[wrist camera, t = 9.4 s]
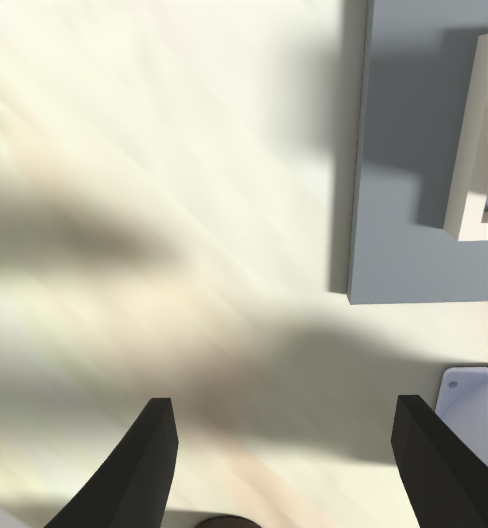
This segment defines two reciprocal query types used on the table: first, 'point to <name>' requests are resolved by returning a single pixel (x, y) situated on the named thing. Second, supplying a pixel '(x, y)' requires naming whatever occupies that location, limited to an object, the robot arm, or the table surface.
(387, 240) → the holder
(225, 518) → the bottle
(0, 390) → the table surface
